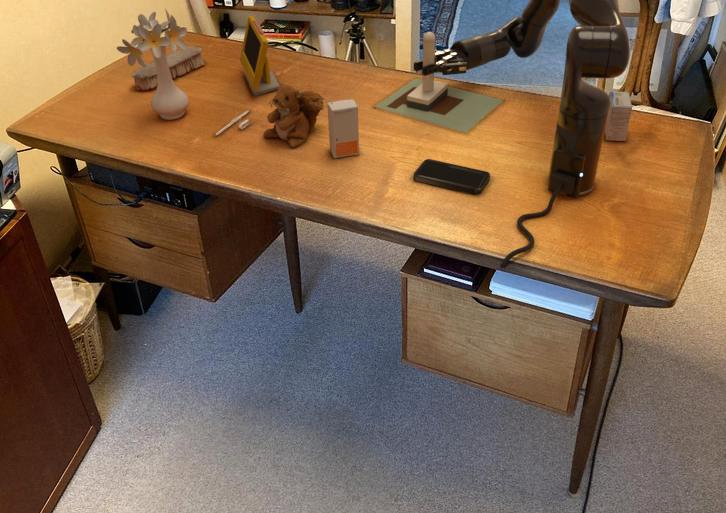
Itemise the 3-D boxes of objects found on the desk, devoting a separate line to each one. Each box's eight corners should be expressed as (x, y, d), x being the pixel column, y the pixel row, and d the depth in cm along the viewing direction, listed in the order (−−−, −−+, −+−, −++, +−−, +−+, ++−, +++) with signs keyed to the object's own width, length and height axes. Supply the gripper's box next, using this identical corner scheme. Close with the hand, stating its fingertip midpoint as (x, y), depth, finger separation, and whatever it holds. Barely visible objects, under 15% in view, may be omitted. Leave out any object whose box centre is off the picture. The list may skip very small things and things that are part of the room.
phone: (479, 190, 144) (411, 175, 149) (478, 195, 144) (411, 179, 150) (491, 172, 149) (426, 157, 155) (491, 176, 150) (426, 162, 155)
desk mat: (465, 133, 165) (465, 132, 165) (374, 107, 177) (374, 106, 177) (503, 101, 178) (503, 100, 178) (415, 78, 190) (415, 77, 190)
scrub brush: (428, 111, 174) (430, 42, 163) (406, 106, 177) (407, 37, 166) (447, 94, 181) (450, 26, 170) (426, 89, 184) (428, 22, 173)
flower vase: (131, 130, 172) (104, 29, 157) (167, 97, 186) (145, 2, 171) (179, 135, 169) (156, 34, 154) (212, 102, 183) (194, 5, 168)
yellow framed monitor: (241, 72, 198) (233, 16, 188) (268, 67, 199) (262, 12, 189) (254, 101, 182) (246, 42, 173) (284, 96, 184) (277, 37, 174)
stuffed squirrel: (260, 138, 167) (253, 86, 159) (304, 117, 175) (300, 66, 166) (287, 152, 161) (281, 99, 153) (332, 130, 169) (329, 78, 161)
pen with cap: (247, 111, 178) (246, 104, 177) (262, 114, 176) (261, 107, 175) (214, 136, 168) (213, 128, 167) (229, 140, 167) (227, 132, 165)
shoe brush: (192, 57, 207) (188, 41, 204) (210, 63, 203) (207, 46, 200) (129, 88, 191) (124, 71, 188) (148, 94, 188) (143, 77, 185)
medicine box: (625, 142, 160) (633, 107, 154) (605, 140, 160) (612, 106, 155) (622, 125, 166) (629, 91, 160) (602, 124, 166) (609, 90, 161)
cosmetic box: (334, 159, 158) (330, 110, 151) (329, 150, 161) (326, 102, 154) (360, 154, 159) (358, 106, 152) (355, 146, 162) (353, 98, 155)
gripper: (456, 29, 181) (401, 45, 174) (492, 46, 172) (436, 63, 165) (455, 57, 186) (401, 74, 179) (490, 75, 177) (435, 93, 170)
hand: (418, 69), depth 172 cm, fingers closed on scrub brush, 3 cm apart
